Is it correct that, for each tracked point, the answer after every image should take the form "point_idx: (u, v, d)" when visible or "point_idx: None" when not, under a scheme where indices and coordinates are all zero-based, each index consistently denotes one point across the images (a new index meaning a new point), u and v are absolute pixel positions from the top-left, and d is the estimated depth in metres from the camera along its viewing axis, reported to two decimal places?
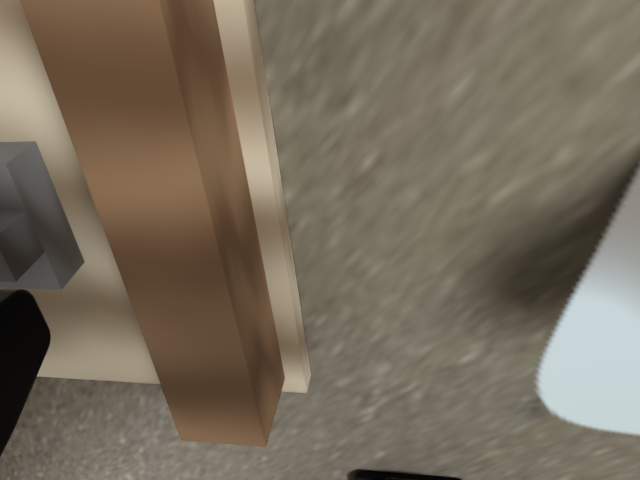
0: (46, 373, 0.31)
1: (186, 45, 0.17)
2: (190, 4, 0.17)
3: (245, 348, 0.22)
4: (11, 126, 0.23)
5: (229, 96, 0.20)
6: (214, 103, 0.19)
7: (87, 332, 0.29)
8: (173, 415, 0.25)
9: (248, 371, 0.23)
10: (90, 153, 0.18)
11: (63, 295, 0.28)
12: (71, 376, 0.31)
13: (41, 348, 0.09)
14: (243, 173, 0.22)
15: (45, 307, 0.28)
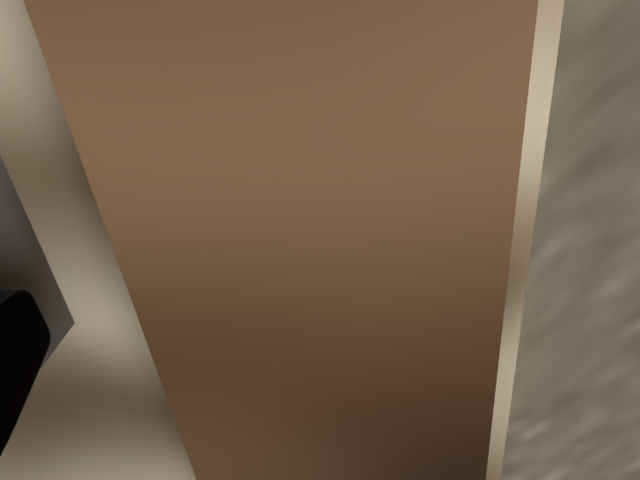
0: None
1: None
2: None
3: None
4: None
5: None
6: None
7: (81, 443, 0.16)
8: None
9: None
10: (81, 7, 0.05)
11: None
12: None
13: (41, 348, 0.09)
14: None
15: None
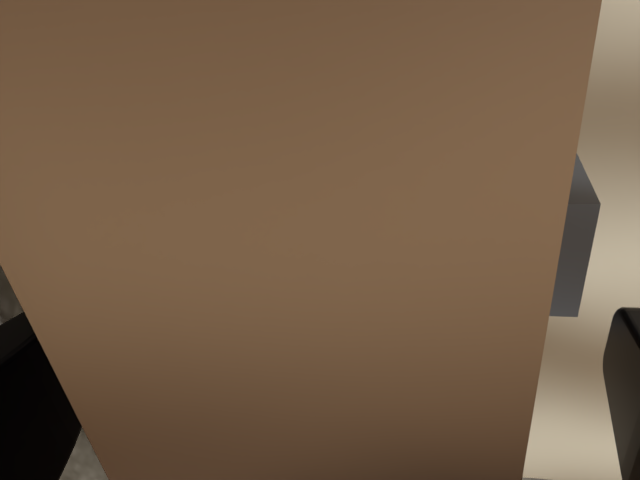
0: None
1: None
2: None
3: None
4: None
5: None
6: None
7: None
8: None
9: None
10: None
11: None
12: None
13: None
14: None
15: None
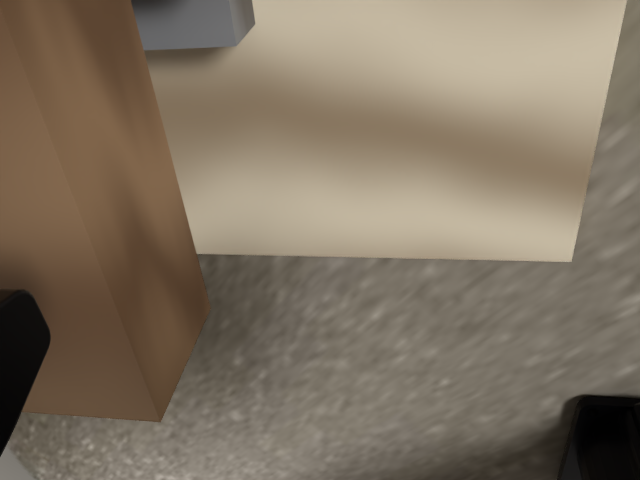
0: None
1: None
2: None
3: (89, 212, 0.10)
4: None
5: None
6: None
7: (232, 167, 0.19)
8: None
9: (101, 264, 0.11)
10: None
11: (205, 96, 0.17)
12: None
13: (41, 348, 0.09)
14: None
15: (171, 122, 0.18)
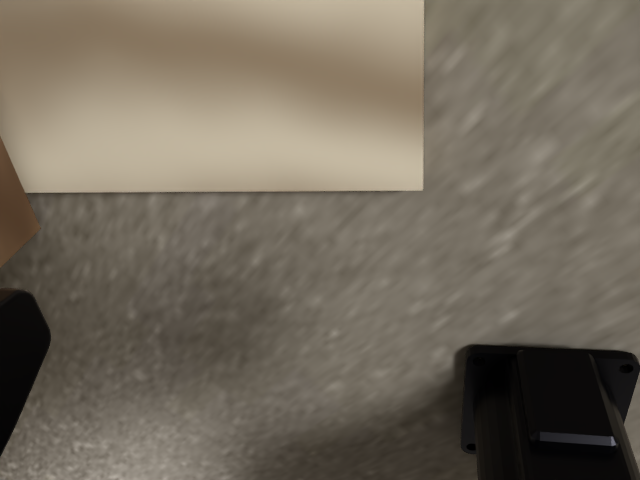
0: None
1: None
2: None
3: None
4: None
5: None
6: None
7: (81, 97, 0.19)
8: None
9: None
10: None
11: (42, 20, 0.17)
12: (57, 188, 0.21)
13: (41, 348, 0.09)
14: None
15: (15, 49, 0.18)
